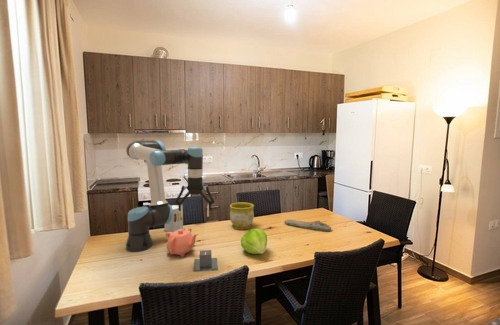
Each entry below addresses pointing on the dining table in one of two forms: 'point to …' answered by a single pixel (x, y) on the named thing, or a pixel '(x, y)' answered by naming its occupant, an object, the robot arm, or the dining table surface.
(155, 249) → the dining table surface
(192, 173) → the robot arm
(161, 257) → the dining table surface
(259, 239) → the lettuce
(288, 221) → the elongated rock
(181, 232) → the teapot
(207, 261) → the gray cube
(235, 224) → the flowerpot
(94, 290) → the dining table surface
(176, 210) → the supplement box
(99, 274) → the dining table surface
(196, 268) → the shaft post
